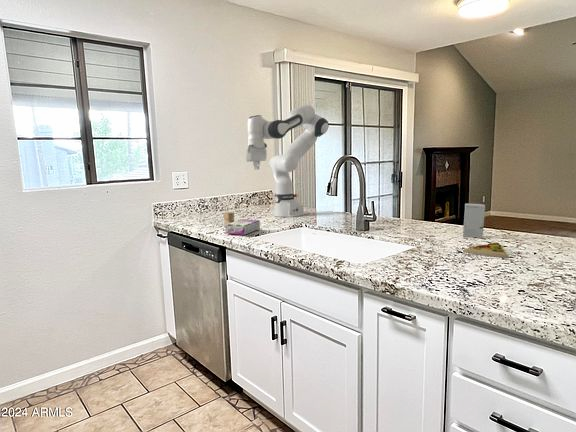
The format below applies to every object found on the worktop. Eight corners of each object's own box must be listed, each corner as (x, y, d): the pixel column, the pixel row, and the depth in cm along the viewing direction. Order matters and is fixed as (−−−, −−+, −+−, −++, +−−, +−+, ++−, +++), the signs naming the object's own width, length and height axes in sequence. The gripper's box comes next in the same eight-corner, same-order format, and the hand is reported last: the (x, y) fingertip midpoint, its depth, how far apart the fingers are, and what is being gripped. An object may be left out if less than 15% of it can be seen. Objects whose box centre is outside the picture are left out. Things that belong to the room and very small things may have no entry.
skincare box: (462, 237, 174) (464, 204, 171) (462, 234, 179) (464, 203, 177) (483, 238, 170) (485, 205, 168) (483, 235, 176) (484, 203, 173)
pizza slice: (461, 254, 147) (462, 246, 147) (477, 244, 163) (477, 237, 162) (507, 261, 137) (507, 252, 137) (519, 249, 153) (520, 242, 152)
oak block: (230, 226, 218) (229, 212, 217) (234, 226, 215) (233, 212, 214) (224, 227, 215) (223, 212, 214) (228, 227, 213) (228, 213, 211)
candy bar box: (242, 228, 208) (225, 233, 194) (242, 219, 208) (224, 223, 193) (260, 229, 204) (244, 235, 189) (260, 220, 203) (243, 225, 188)
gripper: (253, 144, 206) (254, 170, 209) (268, 144, 225) (268, 168, 228) (242, 144, 209) (243, 170, 211) (258, 145, 228) (259, 168, 230)
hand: (256, 169), depth 219 cm, fingers closed
